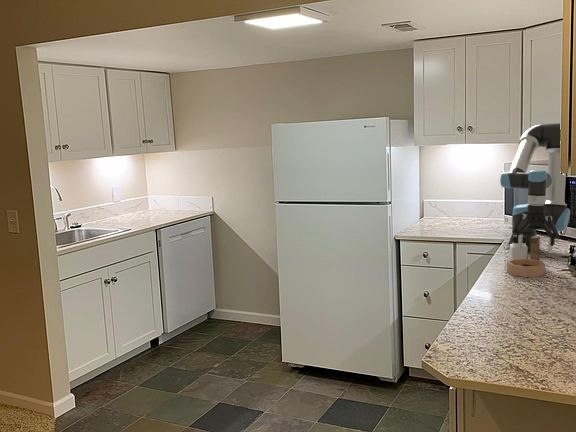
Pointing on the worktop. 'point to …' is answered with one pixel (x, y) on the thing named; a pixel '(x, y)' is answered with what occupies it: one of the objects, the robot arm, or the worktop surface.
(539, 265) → the orange octagonal tray
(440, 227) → the worktop surface
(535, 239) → the wooden bar
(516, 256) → the medicine bottle
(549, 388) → the worktop surface
